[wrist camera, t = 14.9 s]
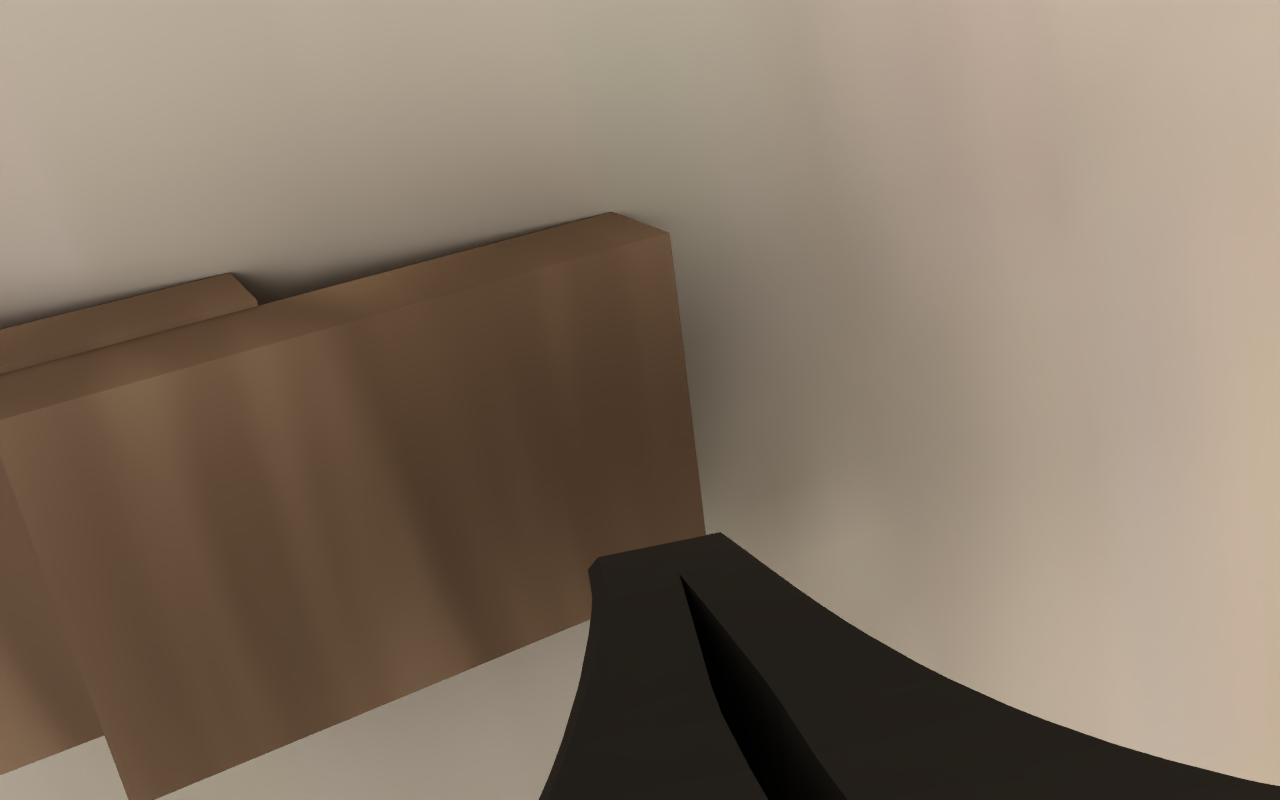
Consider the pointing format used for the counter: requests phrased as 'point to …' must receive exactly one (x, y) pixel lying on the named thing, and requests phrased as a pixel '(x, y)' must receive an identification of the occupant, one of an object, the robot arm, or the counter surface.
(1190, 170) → the counter surface
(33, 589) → the walnut domino
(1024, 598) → the counter surface
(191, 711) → the walnut domino
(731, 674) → the robot arm
